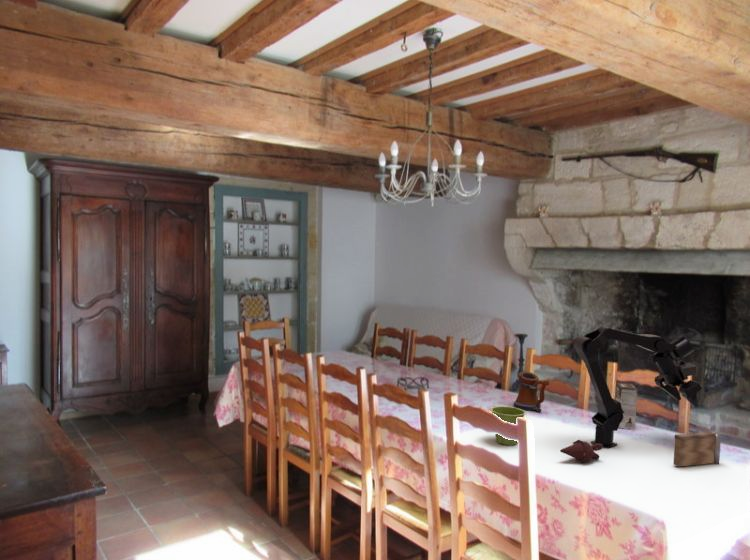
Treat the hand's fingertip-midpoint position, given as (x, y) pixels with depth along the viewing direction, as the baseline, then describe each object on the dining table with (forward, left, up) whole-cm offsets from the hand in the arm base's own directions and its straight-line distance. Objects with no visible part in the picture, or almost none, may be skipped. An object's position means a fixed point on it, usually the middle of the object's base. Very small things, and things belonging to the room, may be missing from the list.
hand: (688, 403), depth 199 cm
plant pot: (-54, +36, -15) cm, 67 cm away
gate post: (-11, -14, -15) cm, 23 cm away
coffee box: (+2, +24, -15) cm, 28 cm away
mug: (-11, +58, -15) cm, 61 cm away
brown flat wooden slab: (-19, -11, -14) cm, 26 cm away
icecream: (-48, +11, -15) cm, 51 cm away
